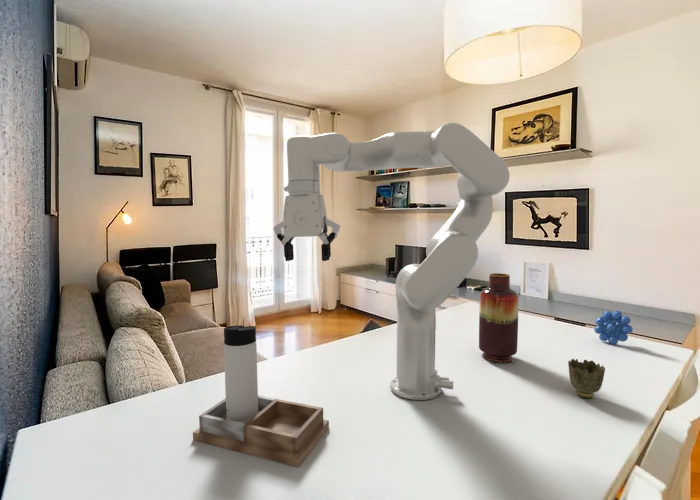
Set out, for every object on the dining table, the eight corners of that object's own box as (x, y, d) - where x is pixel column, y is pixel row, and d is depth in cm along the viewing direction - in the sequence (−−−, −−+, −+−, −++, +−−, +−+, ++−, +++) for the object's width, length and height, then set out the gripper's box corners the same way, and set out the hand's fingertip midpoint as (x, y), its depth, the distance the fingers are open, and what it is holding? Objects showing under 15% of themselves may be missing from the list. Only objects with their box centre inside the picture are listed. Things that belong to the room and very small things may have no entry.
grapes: (638, 347, 122) (640, 311, 121) (627, 350, 119) (629, 314, 118) (600, 337, 132) (602, 305, 131) (590, 340, 129) (591, 307, 128)
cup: (598, 392, 90) (599, 360, 89) (608, 406, 83) (610, 372, 82) (563, 387, 92) (565, 356, 91) (571, 401, 85) (572, 367, 85)
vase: (499, 367, 105) (501, 278, 103) (470, 355, 115) (472, 273, 113) (525, 360, 110) (527, 275, 109) (495, 349, 120) (497, 271, 118)
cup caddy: (328, 427, 74) (328, 406, 74) (298, 467, 62) (297, 442, 62) (236, 408, 82) (235, 388, 82) (193, 439, 70) (192, 417, 70)
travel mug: (219, 428, 72) (216, 329, 70) (236, 411, 78) (233, 320, 77) (248, 431, 70) (245, 330, 69) (263, 414, 77) (261, 321, 75)
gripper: (264, 190, 86) (268, 262, 88) (332, 186, 81) (335, 262, 82) (280, 192, 94) (283, 258, 95) (343, 188, 88) (345, 258, 89)
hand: (307, 260), depth 89 cm, fingers open, 9 cm apart
